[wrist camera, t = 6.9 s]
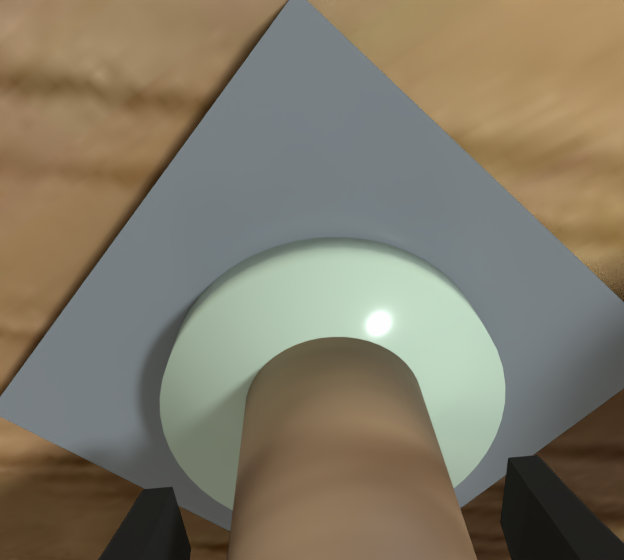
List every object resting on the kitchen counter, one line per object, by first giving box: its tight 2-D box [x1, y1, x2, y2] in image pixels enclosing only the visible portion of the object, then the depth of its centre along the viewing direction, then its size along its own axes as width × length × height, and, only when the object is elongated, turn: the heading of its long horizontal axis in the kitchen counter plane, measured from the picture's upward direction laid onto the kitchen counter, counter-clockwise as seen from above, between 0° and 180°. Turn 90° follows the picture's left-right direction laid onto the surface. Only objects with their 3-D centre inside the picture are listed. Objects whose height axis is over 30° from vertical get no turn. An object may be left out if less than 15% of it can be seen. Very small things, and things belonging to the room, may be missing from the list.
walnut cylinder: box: [227, 337, 477, 560], centre depth 11 cm, size 5×5×6 cm
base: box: [0, 0, 624, 531], centre depth 15 cm, size 14×14×3 cm
